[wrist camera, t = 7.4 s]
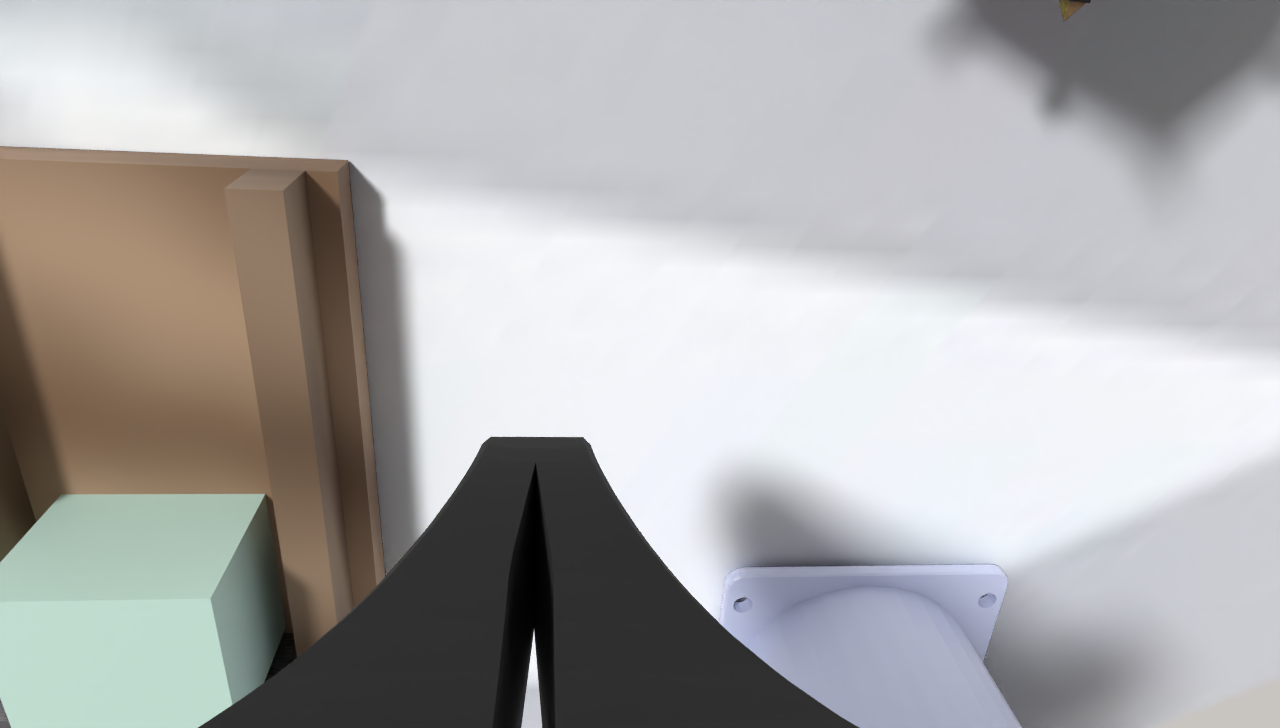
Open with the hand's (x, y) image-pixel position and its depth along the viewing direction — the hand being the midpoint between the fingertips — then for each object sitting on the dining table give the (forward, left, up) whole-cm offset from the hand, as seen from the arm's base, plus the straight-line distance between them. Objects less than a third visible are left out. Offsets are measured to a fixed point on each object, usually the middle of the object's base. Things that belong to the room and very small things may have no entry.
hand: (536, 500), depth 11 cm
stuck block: (-7, +9, -7) cm, 13 cm away
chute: (-4, +9, -8) cm, 13 cm away
